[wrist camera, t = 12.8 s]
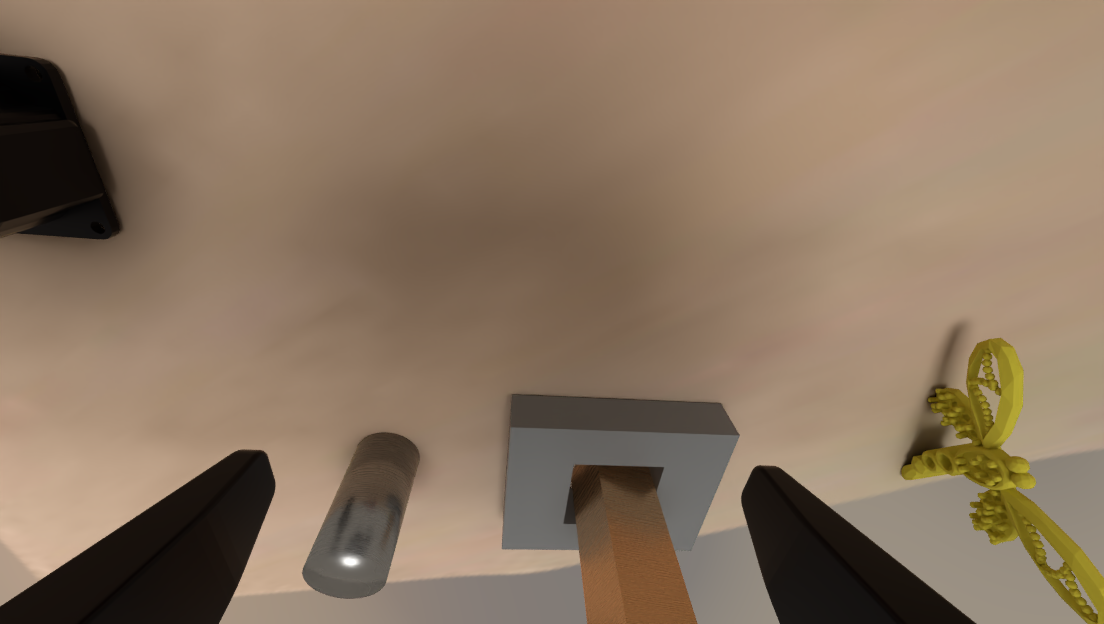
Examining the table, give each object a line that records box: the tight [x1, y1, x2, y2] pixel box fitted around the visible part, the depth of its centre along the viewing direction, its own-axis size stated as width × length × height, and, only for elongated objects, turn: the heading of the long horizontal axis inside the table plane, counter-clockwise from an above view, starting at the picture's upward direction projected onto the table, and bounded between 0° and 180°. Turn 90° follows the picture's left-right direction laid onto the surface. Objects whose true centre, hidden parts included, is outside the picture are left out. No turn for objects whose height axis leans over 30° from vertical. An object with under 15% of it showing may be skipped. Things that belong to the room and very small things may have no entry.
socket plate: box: [502, 395, 740, 551], centre depth 26 cm, size 12×10×2 cm
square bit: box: [571, 465, 697, 624], centre depth 22 cm, size 3×3×12 cm
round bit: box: [302, 433, 419, 599], centre depth 22 cm, size 4×4×7 cm
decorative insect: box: [901, 338, 1104, 624], centre depth 24 cm, size 13×3×10 cm
